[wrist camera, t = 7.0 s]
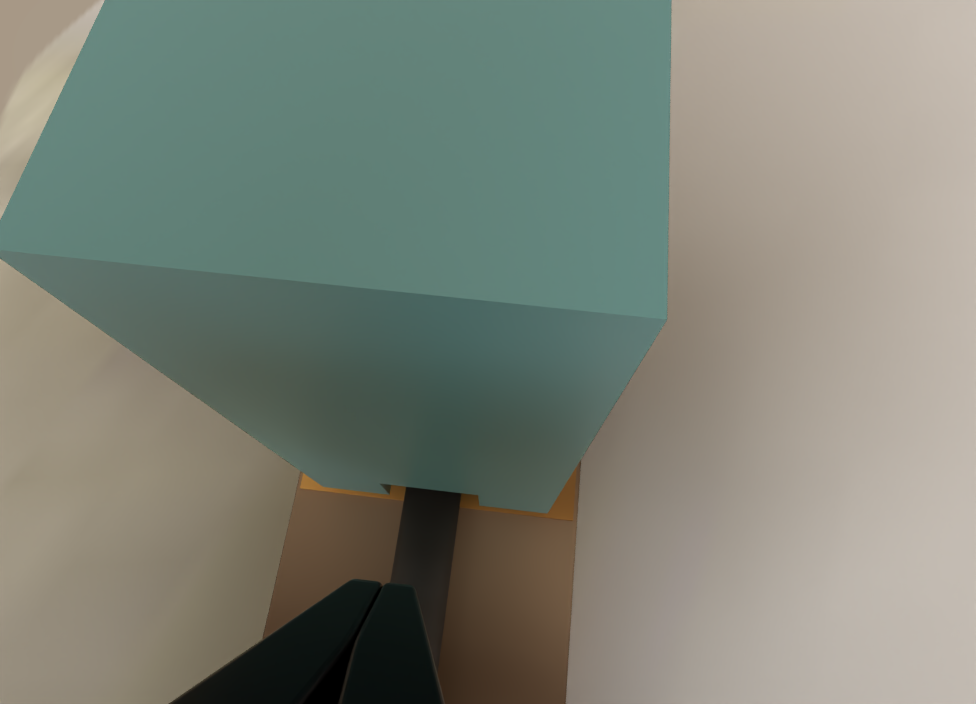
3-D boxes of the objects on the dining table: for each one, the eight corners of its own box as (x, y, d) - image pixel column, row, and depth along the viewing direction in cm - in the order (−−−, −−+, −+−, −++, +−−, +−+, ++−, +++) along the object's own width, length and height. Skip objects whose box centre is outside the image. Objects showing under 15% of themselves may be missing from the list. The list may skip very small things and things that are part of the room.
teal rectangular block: (547, 513, 14) (665, 320, 4) (322, 486, 14) (-15, 249, 5) (560, 345, 15) (672, -66, 6) (357, 323, 16) (155, -106, 6)
